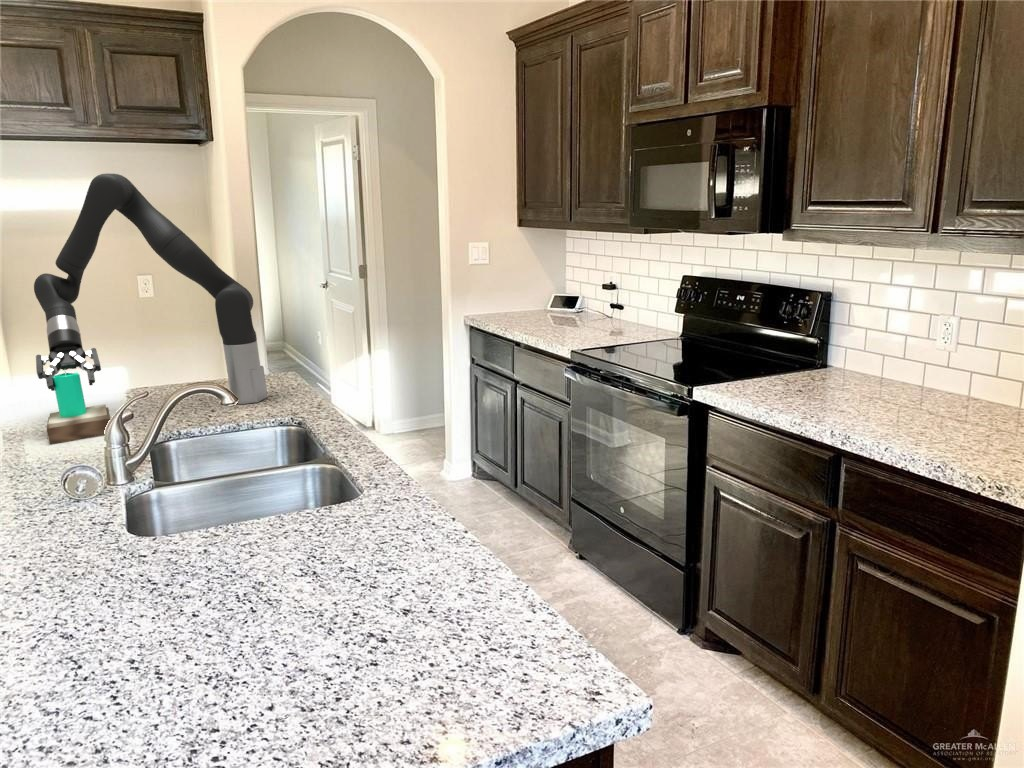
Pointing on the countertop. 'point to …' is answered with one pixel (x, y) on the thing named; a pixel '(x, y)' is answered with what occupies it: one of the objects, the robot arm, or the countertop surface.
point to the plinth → (77, 425)
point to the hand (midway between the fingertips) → (72, 386)
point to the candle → (69, 394)
